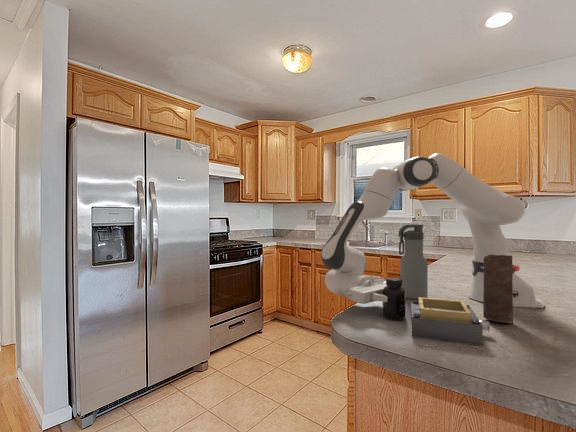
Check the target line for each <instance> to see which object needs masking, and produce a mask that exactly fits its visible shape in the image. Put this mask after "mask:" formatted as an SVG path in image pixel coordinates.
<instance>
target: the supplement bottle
mask: <svg viewBox="0 0 576 432" xmlns="http://www.w3.org/2000/svg"><path fill="white" fill-rule="evenodd" d="M385 280H386V285H387V286H386V287H384V288H383V295H387V296H389V297H390V298H389V299H390V301H388V302H383V301H382V317H383V318H384V319H387V320H390V321H397V322H398V321H399V322H400V321H404V320H405V319H406V315H407V314H406V312H407V311H406V310H407V309H406V307H407V305H406V304H407V301H406V300H407V298H406V291H405V289H404V288H402V286H403V284H402V279H400V278H399V277H386V278H385Z"/></svg>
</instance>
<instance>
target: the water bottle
mask: <svg viewBox="0 0 576 432" xmlns="http://www.w3.org/2000/svg"><path fill="white" fill-rule="evenodd" d="M408 228H409V229H410V228H411V229H412V228H413V230H408ZM406 229H407V231H406ZM423 229H424V224H415V223H413V224H412V223H411V224H405V225H403V226H401V227H400V228H399V229H398V237H399V242H398V255H400V256H401V255H402V256H401V258H400V261H399V262H400V265H399V266H400V267H399V271H400V273H399V274H400V275H399V276H400V278H399V279H402V284H403V286H402V288H404V289H405V291H406V299H408V300H417V301H418V297H422V298H428V292H429V291H428V290H429V289H428V274H429V271H428V266H429V265H428V258H426V257H425V256H424V238H425V237H424V235H425V234H424V231H423ZM403 254H404V255H403Z"/></svg>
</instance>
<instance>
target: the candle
mask: <svg viewBox="0 0 576 432" xmlns="http://www.w3.org/2000/svg"><path fill="white" fill-rule="evenodd" d="M512 264H513V255H509V256H507V255H488V256H485V257H484V285H483V286H484V290H483V302H482V303H483V306H482V310H483V311H482V312H483V313H482V316H483V318H484V319H486V320H488V321H492V322H495V323H506V324H513V323H514V318H513V317H514V307H513V287H512V285H513V283H512V276H513V275H512Z"/></svg>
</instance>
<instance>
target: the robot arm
mask: <svg viewBox="0 0 576 432" xmlns="http://www.w3.org/2000/svg"><path fill="white" fill-rule="evenodd" d="M429 183H431V184H432V185H434V186H435V187H436V188H437V189H438V190H439V191H441V192H442V193H443V194H444V195H446V196H447V197H449V198H450V199H451V200H452V201H453V202H455V203H457V204H460V205H462V211H461V212H462V215H463V217H464V218H465V219H466V220H467V222H468V226H469V228H470V232H471V236H472V244H473V259H472V262H471V274H472V280H471V286H470V289H469V293H468V298H470V299H472V300H474V301H478V302H480V303H483V290H484V286H483V285H484V257H485V256H488V255H507V256H509V252H510V248H509V247H510V245H509V240H508V239H507V237H506V236H505V235H504V233H503V231H502V228H501V226H506V225H507V226H508V225H511V224H516V223H518V222H519V221H520V220H521V219H522V218H523V217H524V216H525V210H526V208H525V203H524V202H523V200H522V199H521V198H519V197H517V196H515V195H512V194H508V193H506V192H503V191H502V190H500V189H499V188H498V189H497V188H496V187H494V186H492V185H490V184H488V183H486V182H484V181H483V180H480V179H479V178H478V177H476V176H475V175H474V174H473V173H471V172H470V171H469V170H467V169H466V168H465V167H464V166H462V165H461V164H460V163H458V162H457V161H455V160H454V159H452V158H450V157H449V156H446V155H445V154H443V153H439V152H438V153H434V154H431V155H429V156H428V157H425V156H415V157H411V158H409V159H406V160H404V161H403V162H401V163H400V164H398V165H396V166H394V167H393V168H389V167H380V168H379V167H378V169H376V170H375V171H374V172H373V174H372V175H371V177H370V179H369V180H368V182H367V183H366V186H365V188H364V191H363V192H362V194H361V196H360V197H359V198H358V199H357V201H355V202H353V203H351V204H350V206H349V207H348V208H347V209H346V211H345V213H344V215H343V216H342V218H341V219H340V221H339V222H338V225H337V226H336V227H335V230H334V231H333V233H332V235H331V236H330V237H329V239H328V240H327V241H326V242H325V243H324V244H323V246H322V248H321V251H320V258H321V262H322V264H323V266H324V267H325V268H327V269H331V270H329V271H328V272H326V273H325V276H324V284H325V286H326V288H327V289H328V290H329V291H330V292H332V293H334V294H336V295H338V296H342V297H348V299H349V300H350V301H352V302H355V303H357V304H359V305H360V304H361V305H365V304H369V303H373V302H382V303H383V302H388V301H390V299H389V298H390V297H389V296H387V295H383V288H384V287H386V286H387V285H386V278H385V279H384V278H382V277H381V276H378V275H377V276H376V275H375V276H372V275H371V276H369V275H364V273H365V270H366V268H367V257H366V255H365V253H364V251H361V250H359V249H357V248H355V247H352V246H350V245H347V243H348V242H349V239H350V237H351V236H352V235H353V232H354V231H355V229H356V227H358V225H359V224H360V223H361V222H363V221H370V220H371V221H374V220H375V221H376V220H379V219H382V218H384V217H385V216H386V215H387V213H388V212H389V210H390V208H391V206H392V203H393V201H394V199H395V195H396V194H397V192H398V191H401V192H403V191H405V192H406V191H412V190H416V189H418V188H421V187H423V186H424V187H425V186H427V184H429ZM520 269H521V267H519V266H518V265H517V264H513V263H512V275H513V276H512V283H513V285H512V287H513V308H514V307H515V308H533V309H534V308H535V309H536V308H537V309H539V308H540V309H543V308H544V307H545V305H544V302H543V301H542V300H540V299H539V298H537V297H536V293H535V290H534V287H533V286H532V284H530V283H529V282H527V281H526V280H525V279H523V278H522V277H520V276H519V275H518V274H516V272H519V271H520Z"/></svg>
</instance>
